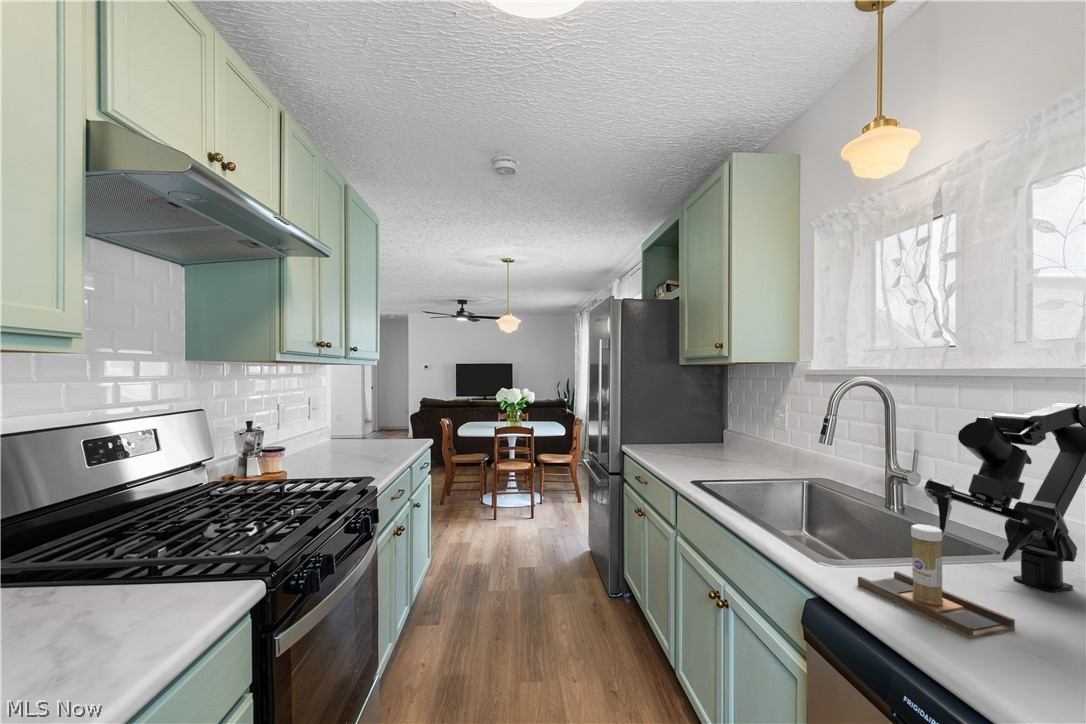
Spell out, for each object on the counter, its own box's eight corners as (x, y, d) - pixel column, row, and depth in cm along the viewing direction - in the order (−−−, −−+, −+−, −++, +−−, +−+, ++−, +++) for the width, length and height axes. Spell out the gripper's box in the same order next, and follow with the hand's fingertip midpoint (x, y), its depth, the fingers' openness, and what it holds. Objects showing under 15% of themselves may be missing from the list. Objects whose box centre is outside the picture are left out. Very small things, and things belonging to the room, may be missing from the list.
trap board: (897, 579, 104) (896, 571, 104) (1014, 629, 84) (1014, 619, 84) (857, 585, 102) (857, 576, 102) (969, 638, 82) (969, 628, 82)
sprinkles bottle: (907, 598, 94) (905, 525, 94) (920, 593, 96) (918, 522, 96) (936, 608, 90) (934, 532, 90) (948, 602, 92) (947, 528, 92)
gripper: (935, 441, 99) (906, 513, 96) (1070, 477, 85) (1040, 563, 82) (941, 461, 106) (914, 529, 103) (1067, 498, 92) (1039, 578, 89)
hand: (971, 547), depth 94 cm, fingers open, 9 cm apart
